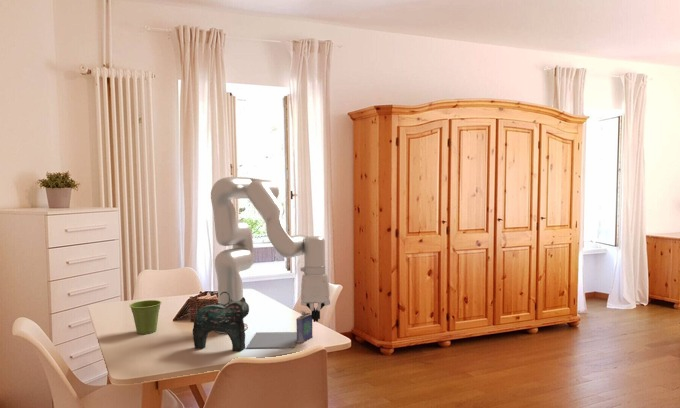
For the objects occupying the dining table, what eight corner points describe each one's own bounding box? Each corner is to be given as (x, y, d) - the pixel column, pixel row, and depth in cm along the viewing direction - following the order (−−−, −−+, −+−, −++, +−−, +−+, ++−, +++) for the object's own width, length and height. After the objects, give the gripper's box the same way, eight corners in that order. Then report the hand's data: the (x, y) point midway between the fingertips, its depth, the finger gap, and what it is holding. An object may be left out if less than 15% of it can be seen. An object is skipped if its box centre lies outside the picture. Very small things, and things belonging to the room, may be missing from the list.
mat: (246, 348, 173) (246, 347, 173) (256, 333, 191) (256, 332, 191) (293, 348, 173) (293, 347, 173) (299, 333, 191) (299, 331, 191)
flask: (301, 344, 177) (300, 314, 177) (294, 343, 178) (293, 313, 178) (314, 337, 185) (313, 308, 185) (307, 336, 187) (306, 307, 186)
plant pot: (124, 332, 196) (123, 304, 196) (153, 326, 205) (152, 298, 204) (138, 338, 188) (137, 308, 188) (168, 331, 197) (167, 302, 196)
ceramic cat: (251, 347, 174) (249, 290, 174) (243, 353, 168) (241, 294, 167) (199, 344, 179) (197, 289, 178) (189, 350, 173) (188, 292, 172)
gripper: (293, 272, 177) (294, 324, 178) (335, 272, 177) (336, 323, 178) (295, 269, 185) (296, 318, 185) (336, 268, 185) (336, 318, 185)
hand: (315, 320), depth 182 cm, fingers closed
